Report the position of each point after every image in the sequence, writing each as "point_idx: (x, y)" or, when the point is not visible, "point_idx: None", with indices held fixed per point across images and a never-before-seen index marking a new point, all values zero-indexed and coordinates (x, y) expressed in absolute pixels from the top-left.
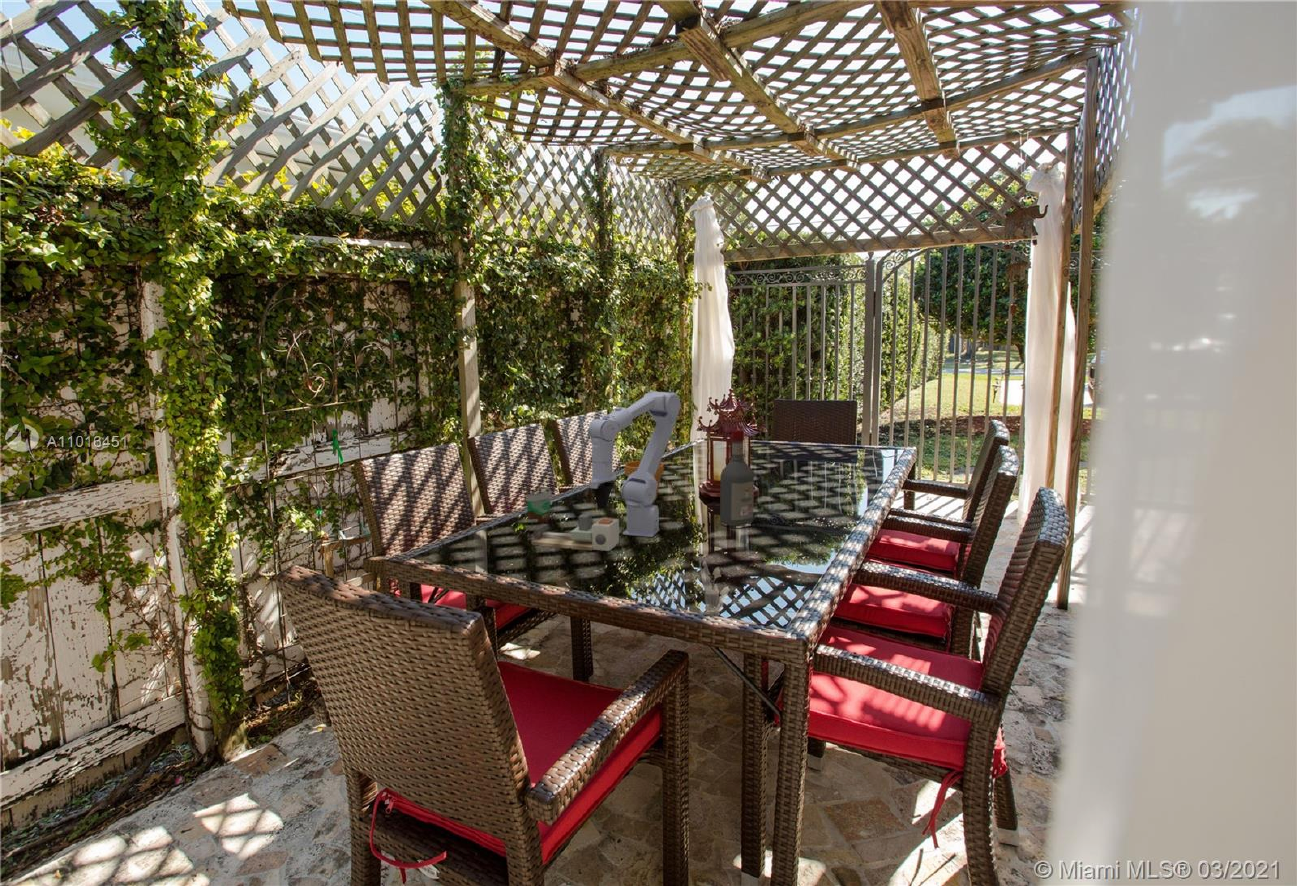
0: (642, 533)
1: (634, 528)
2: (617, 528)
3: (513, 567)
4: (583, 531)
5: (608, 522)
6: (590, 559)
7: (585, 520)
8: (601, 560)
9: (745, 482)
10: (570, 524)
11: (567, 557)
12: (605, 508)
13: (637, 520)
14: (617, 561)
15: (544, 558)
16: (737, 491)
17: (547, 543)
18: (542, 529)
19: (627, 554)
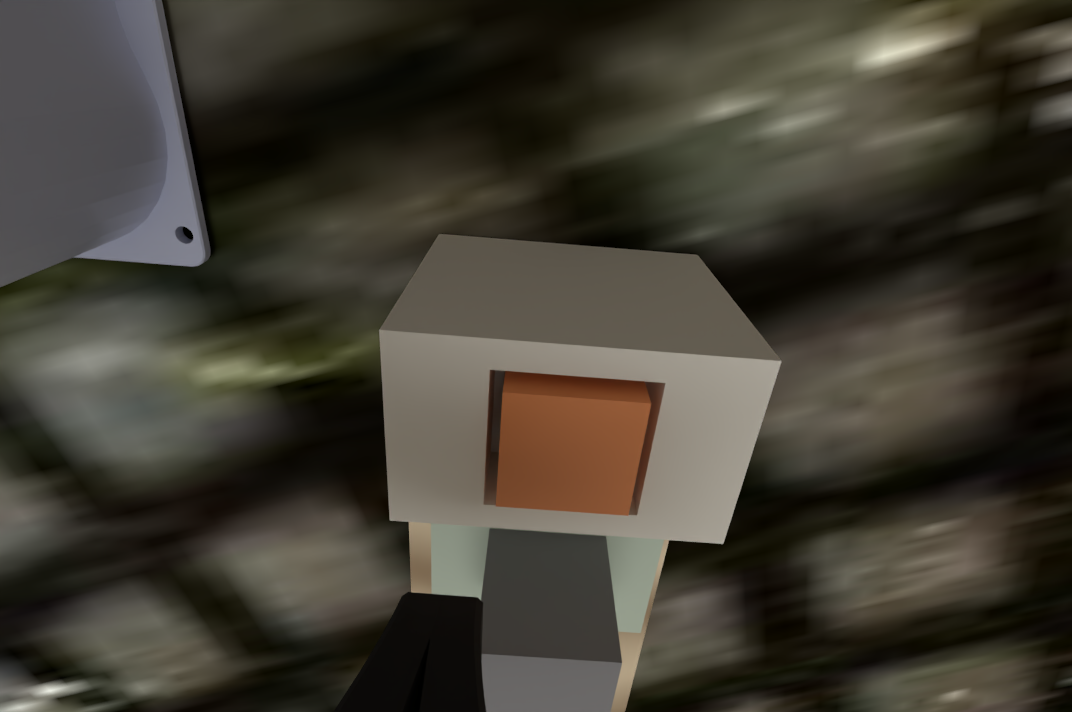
0: (120, 35)
1: (124, 142)
2: (451, 289)
3: (1010, 678)
4: (625, 556)
5: (638, 409)
6: (916, 344)
7: (613, 636)
8: (953, 254)
9: None
10: (155, 646)
11: (854, 496)
12: (448, 596)
13: (25, 108)
14: (1006, 97)
15: (866, 599)
16: None
17: (636, 658)
18: None
19: (791, 47)
